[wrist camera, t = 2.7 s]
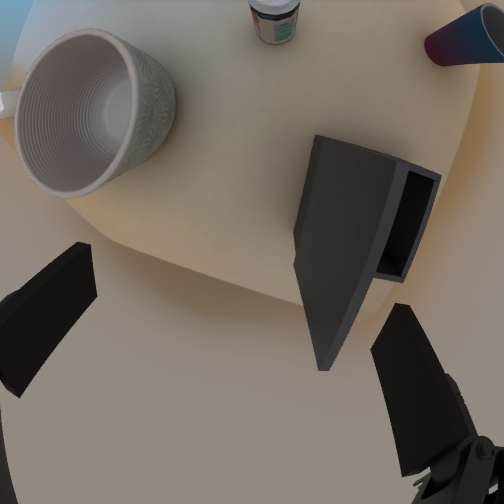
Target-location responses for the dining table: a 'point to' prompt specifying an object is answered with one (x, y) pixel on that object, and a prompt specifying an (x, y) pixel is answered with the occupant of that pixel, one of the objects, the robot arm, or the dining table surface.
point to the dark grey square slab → (344, 239)
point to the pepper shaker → (8, 103)
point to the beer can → (275, 19)
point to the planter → (90, 112)
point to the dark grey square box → (406, 220)
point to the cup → (469, 38)
